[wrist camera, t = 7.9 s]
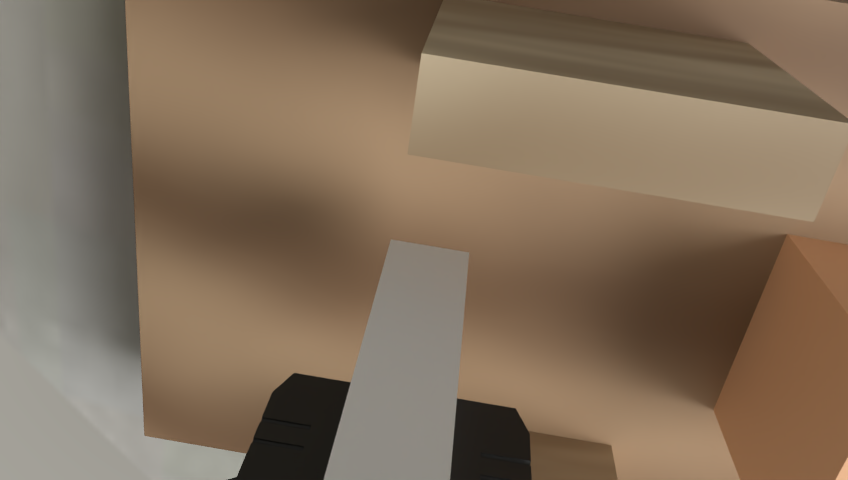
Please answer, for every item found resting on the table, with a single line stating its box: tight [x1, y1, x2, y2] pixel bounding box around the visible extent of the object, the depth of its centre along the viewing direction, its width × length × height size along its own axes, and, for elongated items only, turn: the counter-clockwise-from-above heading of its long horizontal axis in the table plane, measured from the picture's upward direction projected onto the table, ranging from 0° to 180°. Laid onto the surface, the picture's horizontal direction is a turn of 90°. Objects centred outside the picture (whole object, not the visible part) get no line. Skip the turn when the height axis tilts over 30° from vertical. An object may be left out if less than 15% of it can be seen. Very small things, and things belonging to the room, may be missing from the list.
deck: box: [125, 0, 848, 480], centre depth 16 cm, size 14×28×8 cm, turn 82°
